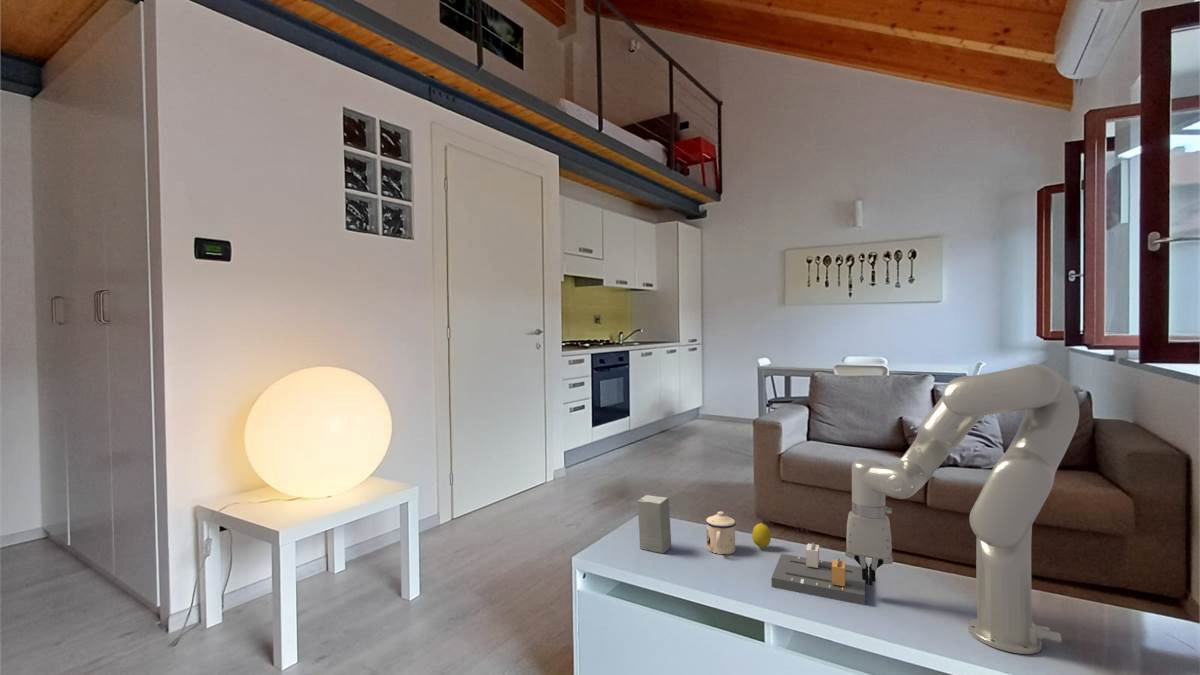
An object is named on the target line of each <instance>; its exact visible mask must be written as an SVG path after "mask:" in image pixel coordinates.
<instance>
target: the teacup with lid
mask: <svg viewBox="0 0 1200 675" xmlns="http://www.w3.org/2000/svg"><path fill="white" fill-rule="evenodd" d="M705 523H706V549H707V551H709V552H710V553H712V552H713V554H715V553H717V555H721V554H726V555H731V554H733V553H735V551H736V524H737V523H736V520H735V519H734V518H732V517H730V516H727V515H726V514H725V512H724V511H722V510H721V511H717V514H713V515H712V516H708V517H707V518H706V520H705Z"/></svg>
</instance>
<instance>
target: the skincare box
mask: <svg viewBox="0 0 1200 675" xmlns="http://www.w3.org/2000/svg"><path fill="white" fill-rule="evenodd" d="M637 511H638V512H637V513H638V533H639V549H640V550H643V549H644V551H648V550H649V552H654V553H660V554H664V553H665V552H666V551H668V550H669V549H671V547H672V534H671V533H672V532H671V531H672V530H671V516H670V499H669V497H665V496H656V495H649V494H645V495H644V496H643V497H640V499H638V500H637Z"/></svg>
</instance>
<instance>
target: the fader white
mask: <svg viewBox="0 0 1200 675" xmlns="http://www.w3.org/2000/svg"><path fill="white" fill-rule="evenodd" d="M805 558H806V566H810V567H815V568H818V565H819V560H820V544H815V542H812V543H807V545H806V548H805Z"/></svg>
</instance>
